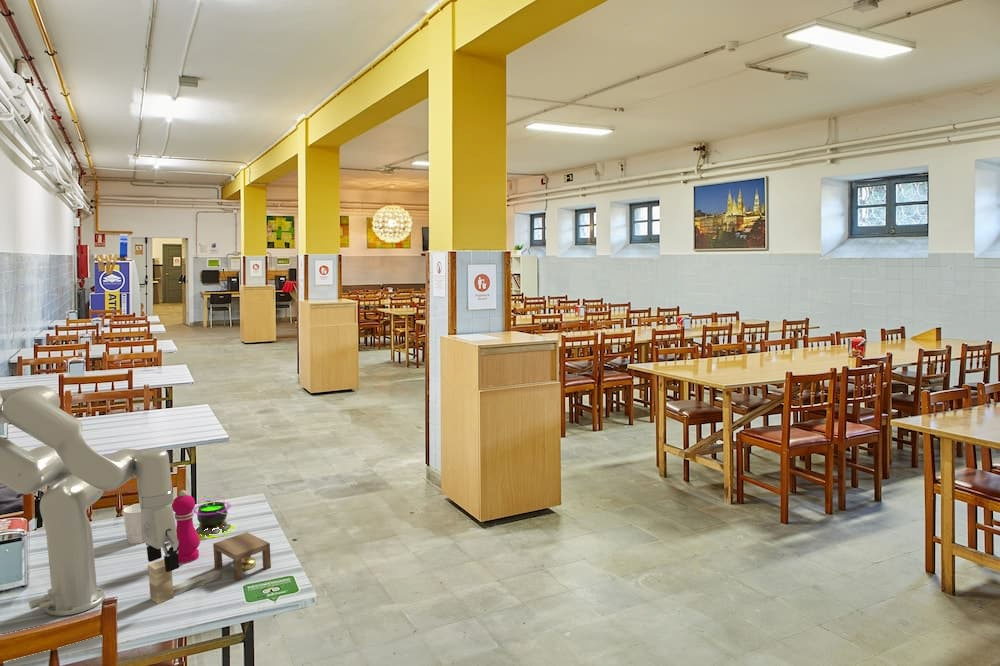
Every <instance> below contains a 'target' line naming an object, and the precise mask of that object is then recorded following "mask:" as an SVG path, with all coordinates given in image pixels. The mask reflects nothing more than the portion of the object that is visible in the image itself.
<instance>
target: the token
mask: <svg viewBox="0 0 1000 666" xmlns="http://www.w3.org/2000/svg"><path fill="white" fill-rule="evenodd" d="M241 562H242V572H243V571H249V570H252V569H254V568H255V567H256V566H257V565H256V558H255V557H253V556H252V557H245V558H243V559H241Z"/></svg>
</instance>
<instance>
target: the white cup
mask: <svg viewBox="0 0 1000 666" xmlns="http://www.w3.org/2000/svg"><path fill="white" fill-rule="evenodd" d="M122 513H123V519H124V528H125V533H126V538H127V539H126V540H127V543H128V544H131V545H138V544H143V543H142V542H144V541H143V540H142V533H141V509H140V503H136V504H132V505H128V506H126V507H125V508H123V509H122ZM144 543H145V542H144Z"/></svg>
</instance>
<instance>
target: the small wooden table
mask: <svg viewBox="0 0 1000 666" xmlns="http://www.w3.org/2000/svg"><path fill="white" fill-rule="evenodd" d="M212 546H213V562H214V563H213V564H214V569H215V570H219V569H222V568H223V555H225V556H227V558H229V559H232V561H233V563H232V564H233V579H234V580H235V581H239V580H242V579H243V571H242V562H241V559H243V558H245V557H251V556H253V555H256V554H258V553H259V554H260V553H262V567H263V568H262V569H265V570H268V569H271V567H272V566H271V565H272V563H271V562H272V561H271V560H272V559H271V543H270V542H268V541H267V540H264V539H262V538H260V537H257V536H255V535H254V534H252V533H250V532H247V531H246V532H243V533H239V534H238V535H234V536H231V537H229V538H225V539H223V540H220V541H217V542H213V545H212Z"/></svg>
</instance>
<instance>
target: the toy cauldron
mask: <svg viewBox="0 0 1000 666" xmlns="http://www.w3.org/2000/svg"><path fill="white" fill-rule="evenodd" d="M209 495H211V493H210V494H207V496H209ZM215 495H216V496H218V493H215ZM207 496H204V498H202V499H201V500H199V501H198V502H197V504H198V505H197V506H195V507H194V509H193V511H194V513H193V514H195V515H196V517H197V521H198V524H199V527H198V528H197V529H196V532H197V534H198V536H199V539H200V540H208V539H207V538H204V537H205V535H206V536H207V537H208V538H211V539H213V538H212V537H217V538H221V537H224V535H222V536H221V537H220V536H215V535H209V534H218V533H219V532H220V530H219V529H222V533H223V534H225V536H227V535H226V533H225V532H224V531H226V532H227V533H230V534H232V533H231V531H229V532H228V531H227V530H228V529H234V526H231V524H227V521H225V520H227V516H228V513H229V512H228V510H229V509H230V508H231V507H232V504H231V503H228V502H225V501H224V500H226V499H225V497H222V496H221V499H223V500H221V501H212V502H206V503H202V504H201V503H200V502H201V501H204V502H205V501H206V499H207ZM210 498H211V497H208V499H210ZM226 505H227V507H226ZM197 509H198V510H197ZM223 526H224V527H223ZM217 527H219V529H215V530H213V531H212V529H213V528H217ZM207 528H208V530H205V529H207ZM204 530H205V531H204ZM200 534H201V535H202V536H201V535H200Z"/></svg>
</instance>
